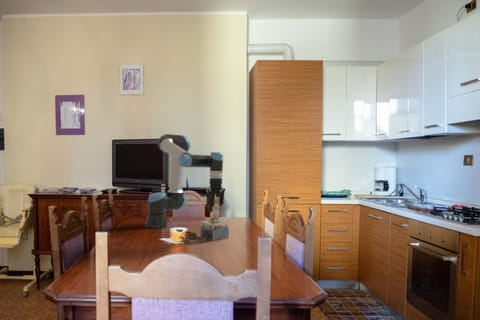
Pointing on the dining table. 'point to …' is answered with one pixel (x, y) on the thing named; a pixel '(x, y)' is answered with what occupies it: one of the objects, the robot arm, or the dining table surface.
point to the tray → (194, 239)
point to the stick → (215, 211)
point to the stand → (190, 234)
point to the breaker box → (214, 230)
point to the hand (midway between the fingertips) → (214, 216)
